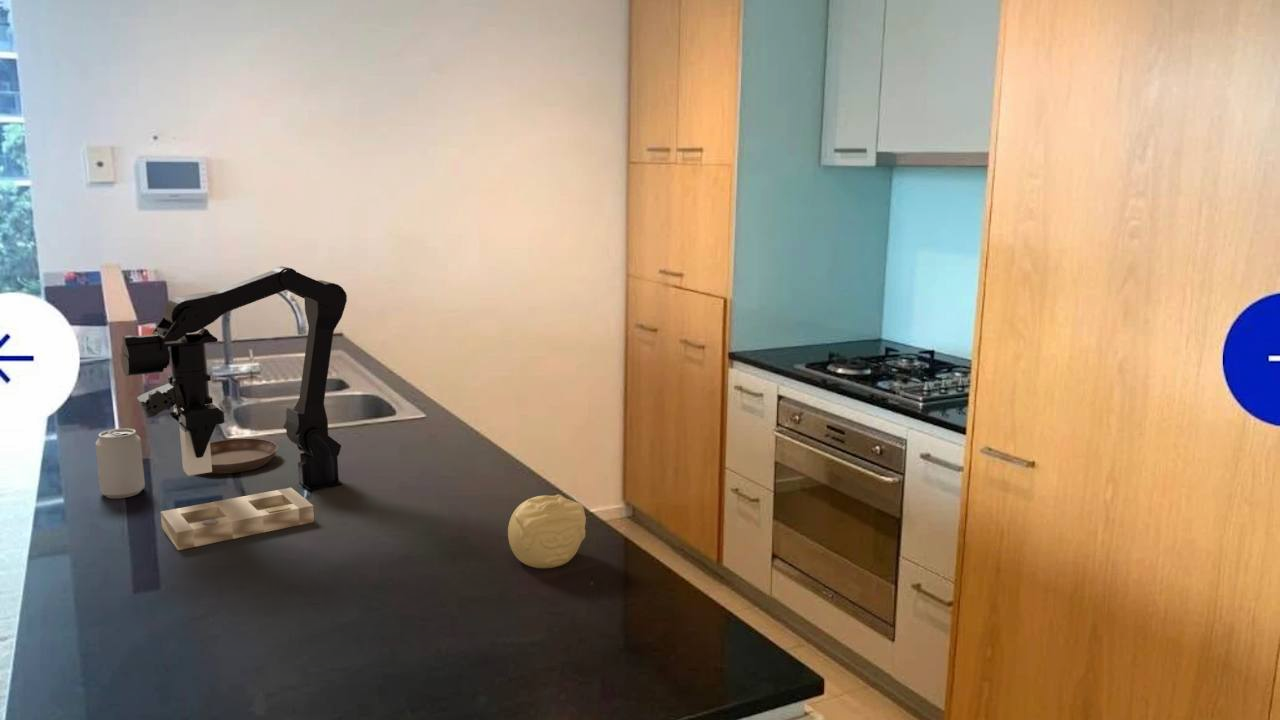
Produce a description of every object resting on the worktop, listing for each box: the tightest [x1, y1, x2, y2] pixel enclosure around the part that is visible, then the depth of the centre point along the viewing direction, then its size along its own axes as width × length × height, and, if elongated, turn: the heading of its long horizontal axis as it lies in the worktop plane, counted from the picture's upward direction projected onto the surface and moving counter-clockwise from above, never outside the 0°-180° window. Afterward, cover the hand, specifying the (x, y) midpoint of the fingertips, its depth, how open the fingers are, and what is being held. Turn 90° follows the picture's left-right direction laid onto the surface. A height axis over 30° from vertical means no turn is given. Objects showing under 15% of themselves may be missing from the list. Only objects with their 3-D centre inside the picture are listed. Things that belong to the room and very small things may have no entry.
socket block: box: [160, 487, 315, 551], centre depth 170 cm, size 22×12×3 cm, turn 127°
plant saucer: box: [208, 437, 279, 474], centre depth 205 cm, size 18×18×3 cm
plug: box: [178, 416, 212, 477], centre depth 176 cm, size 4×4×10 cm
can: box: [94, 428, 146, 499], centre depth 185 cm, size 8×8×12 cm
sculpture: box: [507, 493, 587, 569], centre depth 155 cm, size 11×12×11 cm
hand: (196, 454), depth 177 cm, fingers closed on plug, 4 cm apart
